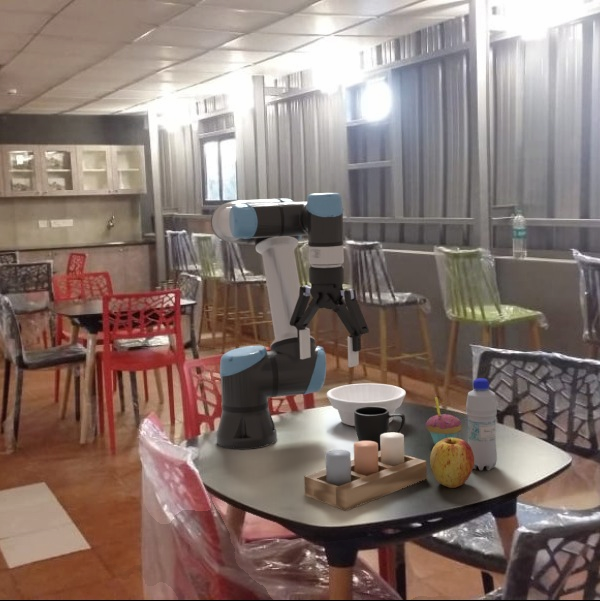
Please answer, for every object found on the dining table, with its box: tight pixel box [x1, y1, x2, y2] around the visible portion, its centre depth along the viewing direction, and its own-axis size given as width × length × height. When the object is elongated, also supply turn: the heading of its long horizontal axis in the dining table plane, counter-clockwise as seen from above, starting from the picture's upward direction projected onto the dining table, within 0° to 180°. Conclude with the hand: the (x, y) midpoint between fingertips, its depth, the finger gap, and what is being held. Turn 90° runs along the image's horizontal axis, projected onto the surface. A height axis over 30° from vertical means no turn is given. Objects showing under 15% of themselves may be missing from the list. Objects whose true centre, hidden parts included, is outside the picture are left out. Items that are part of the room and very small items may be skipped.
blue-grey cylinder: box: [325, 449, 352, 486], centre depth 166 cm, size 5×5×6 cm
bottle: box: [465, 377, 498, 471], centre depth 180 cm, size 7×7×20 cm
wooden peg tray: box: [303, 451, 428, 511], centre depth 171 cm, size 12×24×4 cm, turn 131°
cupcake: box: [425, 394, 463, 445], centre depth 198 cm, size 9×8×12 cm
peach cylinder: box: [353, 441, 379, 476], centre depth 171 cm, size 5×5×6 cm
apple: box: [429, 437, 474, 489], centre depth 171 cm, size 9×9×10 cm
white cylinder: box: [380, 431, 405, 466], centre depth 176 cm, size 5×5×6 cm
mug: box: [354, 406, 406, 451], centre depth 195 cm, size 8×12×10 cm
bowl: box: [326, 382, 407, 427], centre depth 219 cm, size 21×21×8 cm
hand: (328, 362), depth 180 cm, fingers open, 13 cm apart
